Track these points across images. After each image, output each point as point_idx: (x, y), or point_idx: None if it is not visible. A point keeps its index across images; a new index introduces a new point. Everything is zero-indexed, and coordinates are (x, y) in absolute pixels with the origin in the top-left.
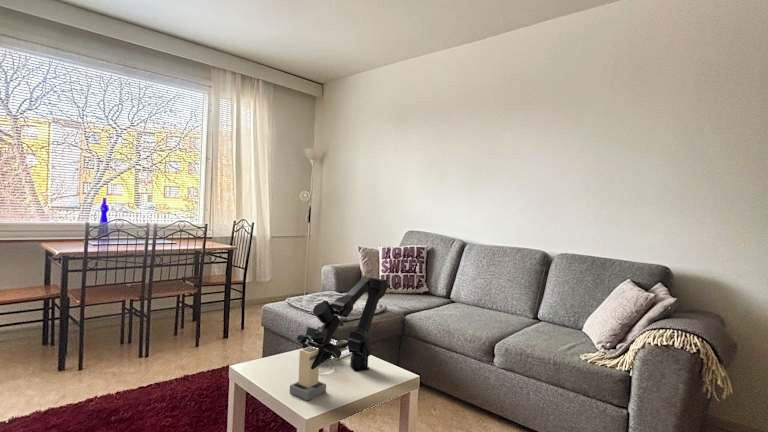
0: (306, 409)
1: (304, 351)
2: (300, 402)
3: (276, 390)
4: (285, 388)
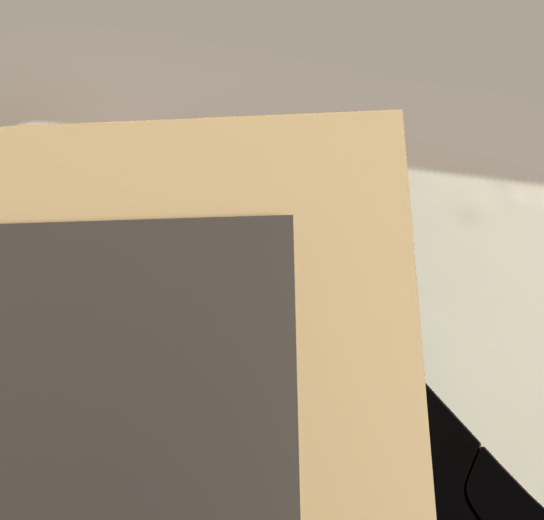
0: None
1: (94, 139)
2: None
3: (499, 230)
4: (476, 310)
